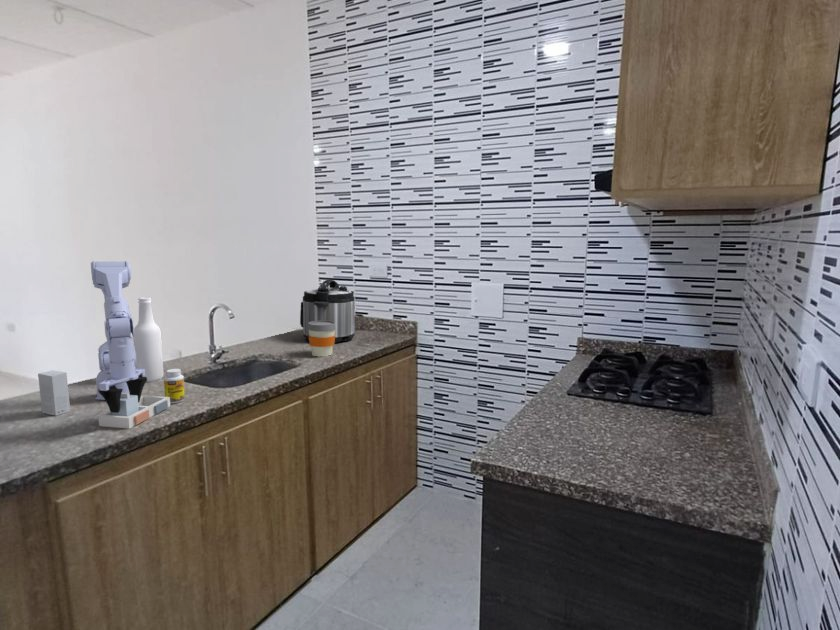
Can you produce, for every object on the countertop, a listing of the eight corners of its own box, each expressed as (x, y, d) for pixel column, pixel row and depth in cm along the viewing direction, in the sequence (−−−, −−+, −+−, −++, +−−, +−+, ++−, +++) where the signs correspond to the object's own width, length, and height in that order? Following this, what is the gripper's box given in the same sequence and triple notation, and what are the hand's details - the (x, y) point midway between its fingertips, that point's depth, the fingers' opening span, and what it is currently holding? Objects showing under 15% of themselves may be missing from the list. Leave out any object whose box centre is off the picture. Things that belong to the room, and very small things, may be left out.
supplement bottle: (166, 405, 140) (164, 373, 138) (164, 399, 145) (162, 369, 143) (186, 402, 143) (184, 371, 141) (183, 397, 148) (182, 367, 146)
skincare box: (71, 411, 133) (67, 372, 131) (55, 416, 129) (51, 376, 127) (57, 408, 135) (53, 369, 133) (41, 413, 131) (36, 373, 129)
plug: (113, 423, 126) (110, 395, 124) (125, 417, 130) (123, 390, 129) (127, 424, 125) (125, 396, 124) (139, 418, 129) (137, 391, 128)
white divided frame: (99, 426, 123) (98, 415, 123) (143, 404, 140) (142, 395, 140) (131, 428, 122) (130, 418, 122) (172, 406, 139) (171, 397, 139)
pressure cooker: (332, 331, 261) (332, 276, 256) (367, 338, 243) (368, 280, 238) (288, 338, 237) (287, 278, 232) (323, 347, 220) (323, 283, 215)
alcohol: (133, 383, 159) (126, 299, 154) (139, 376, 168) (133, 296, 163) (161, 381, 162) (155, 299, 157) (166, 374, 170) (161, 296, 166)
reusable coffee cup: (327, 359, 199) (327, 326, 197) (302, 356, 203) (302, 323, 200) (340, 353, 211) (340, 321, 208) (317, 350, 215) (317, 319, 212)
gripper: (114, 368, 117) (118, 417, 119) (153, 354, 131) (156, 399, 133) (90, 366, 118) (94, 415, 120) (131, 353, 132) (134, 397, 134)
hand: (125, 407), depth 127 cm, fingers open, 7 cm apart
